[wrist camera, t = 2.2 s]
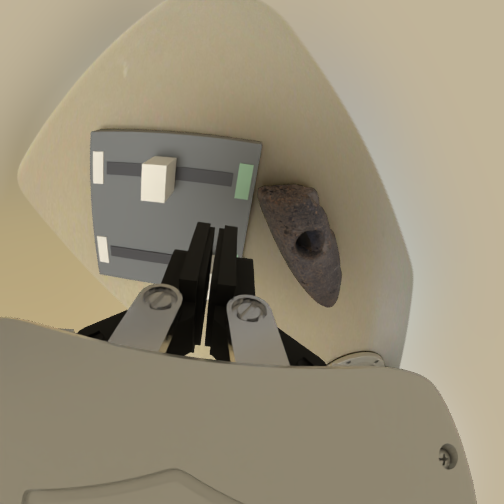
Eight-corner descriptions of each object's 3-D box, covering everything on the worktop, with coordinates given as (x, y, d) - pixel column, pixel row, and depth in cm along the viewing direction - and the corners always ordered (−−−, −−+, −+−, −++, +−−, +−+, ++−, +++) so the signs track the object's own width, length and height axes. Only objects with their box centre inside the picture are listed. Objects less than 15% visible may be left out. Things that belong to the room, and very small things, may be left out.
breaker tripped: (176, 157, 22) (166, 165, 19) (174, 190, 23) (164, 203, 20) (154, 155, 21) (142, 163, 19) (152, 188, 23) (140, 200, 20)
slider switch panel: (261, 141, 23) (262, 144, 22) (235, 284, 31) (235, 295, 29) (100, 129, 22) (90, 132, 20) (106, 264, 30) (99, 274, 28)
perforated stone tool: (342, 277, 31) (360, 317, 25) (301, 293, 32) (312, 335, 26) (302, 158, 24) (321, 177, 18) (251, 179, 25) (253, 204, 19)
